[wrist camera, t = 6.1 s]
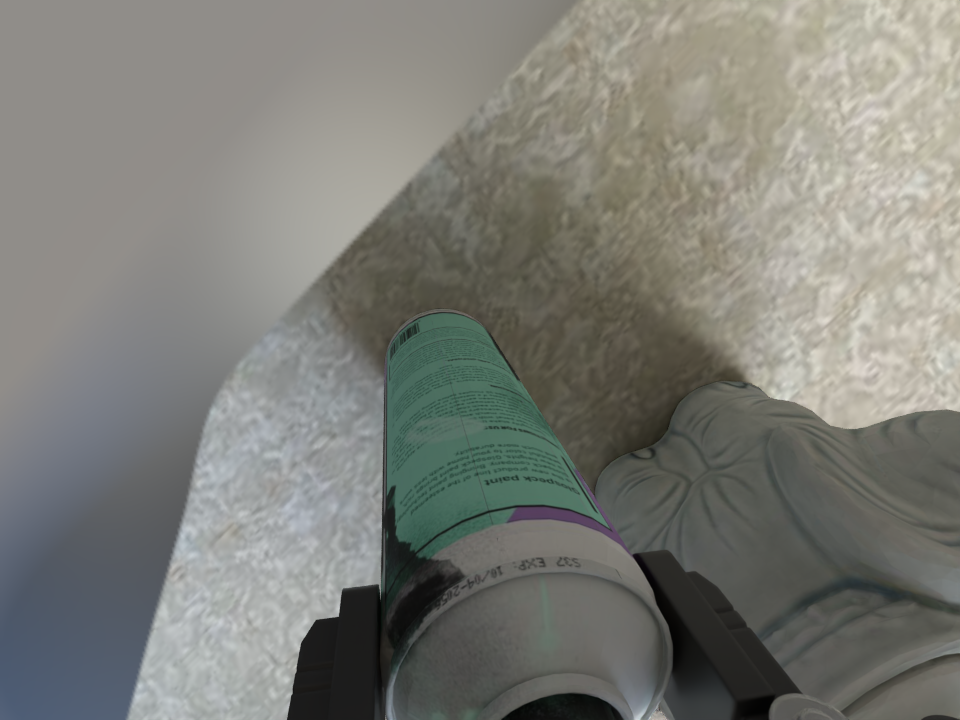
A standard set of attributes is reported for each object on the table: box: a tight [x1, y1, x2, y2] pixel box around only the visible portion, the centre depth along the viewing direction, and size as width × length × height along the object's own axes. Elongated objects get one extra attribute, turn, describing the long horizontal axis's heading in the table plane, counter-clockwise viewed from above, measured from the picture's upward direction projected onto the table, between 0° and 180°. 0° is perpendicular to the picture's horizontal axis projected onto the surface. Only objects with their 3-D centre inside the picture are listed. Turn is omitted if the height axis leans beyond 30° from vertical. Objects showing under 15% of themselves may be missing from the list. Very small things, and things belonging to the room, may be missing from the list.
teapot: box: [595, 381, 960, 720], centre depth 22 cm, size 16×15×19 cm
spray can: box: [380, 309, 673, 720], centre depth 17 cm, size 6×6×20 cm
